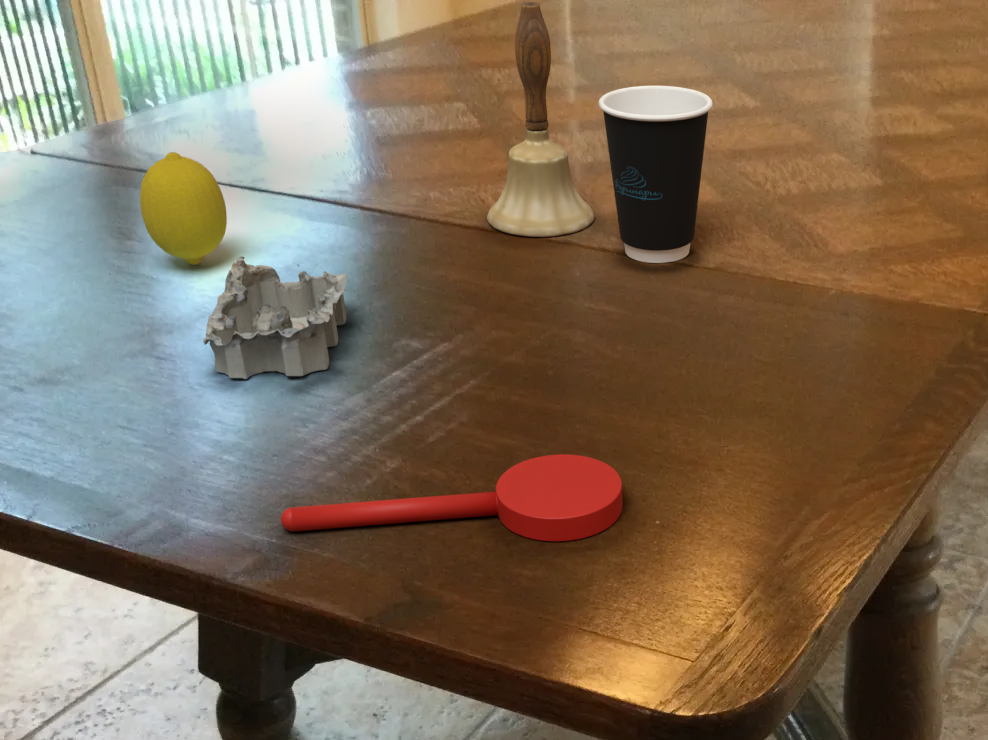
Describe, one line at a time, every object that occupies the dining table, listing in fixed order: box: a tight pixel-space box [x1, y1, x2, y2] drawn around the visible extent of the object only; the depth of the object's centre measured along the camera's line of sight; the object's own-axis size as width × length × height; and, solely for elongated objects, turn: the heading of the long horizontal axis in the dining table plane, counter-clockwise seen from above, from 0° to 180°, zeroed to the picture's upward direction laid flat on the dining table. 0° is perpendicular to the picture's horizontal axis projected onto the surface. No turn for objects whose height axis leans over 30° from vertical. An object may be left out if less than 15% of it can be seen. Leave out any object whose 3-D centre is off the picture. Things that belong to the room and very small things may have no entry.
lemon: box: [139, 151, 228, 266], centre depth 94 cm, size 6×6×8 cm
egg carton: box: [202, 256, 349, 380], centre depth 84 cm, size 11×8×4 cm
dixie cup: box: [598, 85, 713, 264], centre depth 97 cm, size 8×8×11 cm
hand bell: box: [486, 1, 595, 238], centre depth 100 cm, size 8×8×16 cm
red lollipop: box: [280, 453, 624, 543], centre depth 68 cm, size 17×6×1 cm, turn 100°
